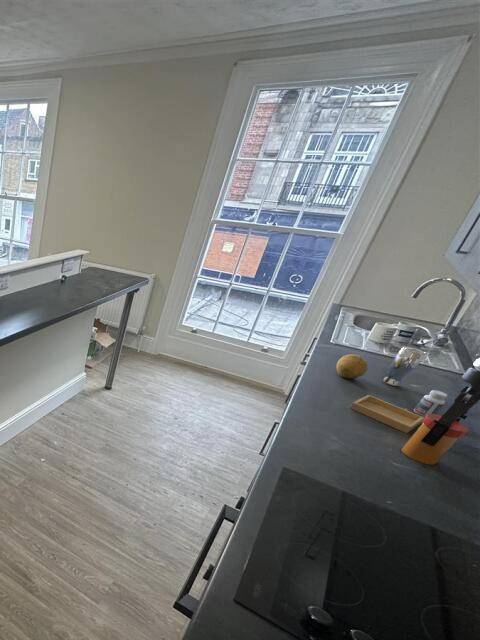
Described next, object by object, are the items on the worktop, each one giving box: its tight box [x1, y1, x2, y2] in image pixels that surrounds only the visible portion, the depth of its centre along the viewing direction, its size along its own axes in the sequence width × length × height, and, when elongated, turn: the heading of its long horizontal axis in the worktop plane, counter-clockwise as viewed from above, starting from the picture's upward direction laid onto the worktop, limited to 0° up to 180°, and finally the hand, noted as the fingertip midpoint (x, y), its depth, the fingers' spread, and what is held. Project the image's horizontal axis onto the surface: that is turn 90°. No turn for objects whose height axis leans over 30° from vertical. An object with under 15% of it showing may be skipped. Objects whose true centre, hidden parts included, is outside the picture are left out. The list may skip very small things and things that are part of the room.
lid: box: [421, 414, 470, 439], centre depth 113 cm, size 8×8×2 cm
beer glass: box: [380, 346, 426, 387], centre depth 158 cm, size 7×7×15 cm
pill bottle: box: [413, 389, 448, 418], centre depth 140 cm, size 5×5×9 cm
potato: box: [335, 353, 369, 379], centre depth 162 cm, size 10×13×9 cm
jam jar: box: [401, 422, 460, 466], centre depth 116 cm, size 8×8×12 cm
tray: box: [349, 394, 425, 434], centre depth 138 cm, size 16×14×2 cm
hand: (433, 438), depth 116 cm, fingers open, 10 cm apart
